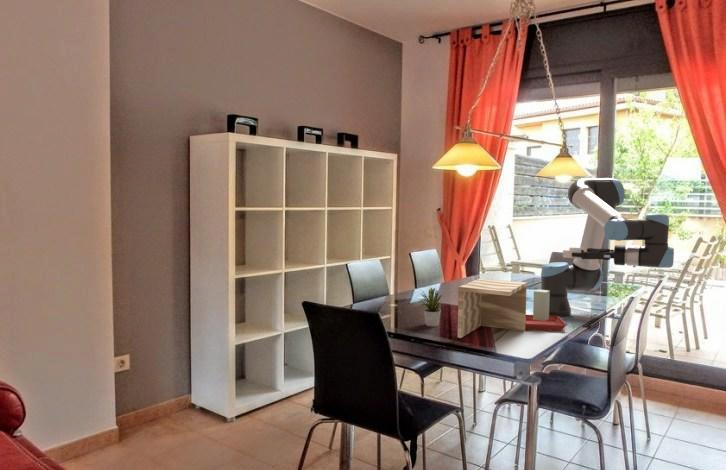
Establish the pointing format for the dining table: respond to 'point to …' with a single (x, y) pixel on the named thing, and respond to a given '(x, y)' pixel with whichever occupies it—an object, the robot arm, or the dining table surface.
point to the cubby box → (491, 305)
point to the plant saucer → (545, 323)
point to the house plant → (431, 308)
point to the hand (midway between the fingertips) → (566, 252)
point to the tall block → (541, 305)
